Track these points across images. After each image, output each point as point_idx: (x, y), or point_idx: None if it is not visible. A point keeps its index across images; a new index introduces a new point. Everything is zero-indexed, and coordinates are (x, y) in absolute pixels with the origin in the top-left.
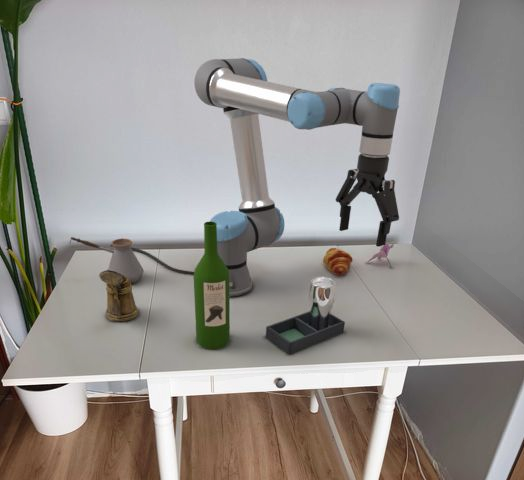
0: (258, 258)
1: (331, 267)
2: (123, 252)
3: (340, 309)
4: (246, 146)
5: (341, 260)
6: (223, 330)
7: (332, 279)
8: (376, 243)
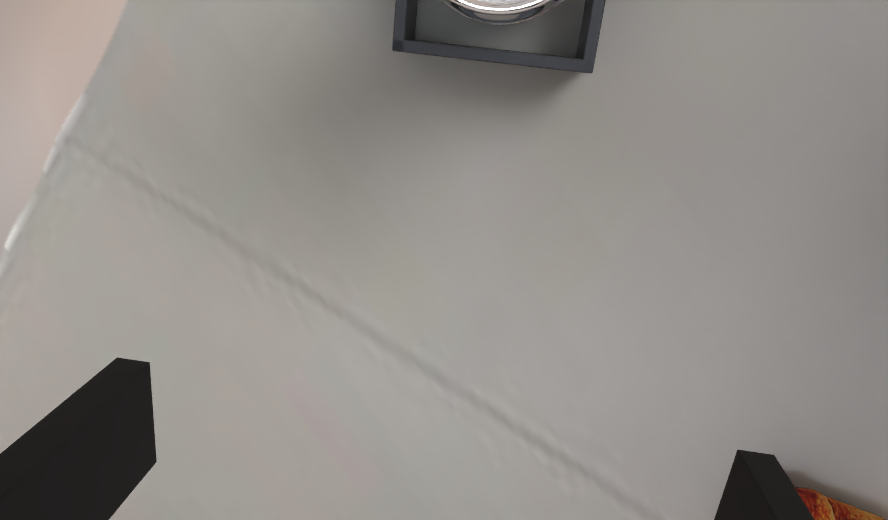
0: None
1: (846, 511)
2: None
3: (559, 226)
4: None
5: None
6: None
7: (481, 9)
8: (129, 376)
